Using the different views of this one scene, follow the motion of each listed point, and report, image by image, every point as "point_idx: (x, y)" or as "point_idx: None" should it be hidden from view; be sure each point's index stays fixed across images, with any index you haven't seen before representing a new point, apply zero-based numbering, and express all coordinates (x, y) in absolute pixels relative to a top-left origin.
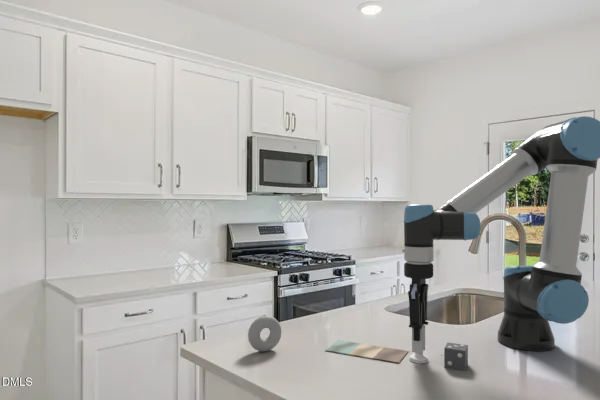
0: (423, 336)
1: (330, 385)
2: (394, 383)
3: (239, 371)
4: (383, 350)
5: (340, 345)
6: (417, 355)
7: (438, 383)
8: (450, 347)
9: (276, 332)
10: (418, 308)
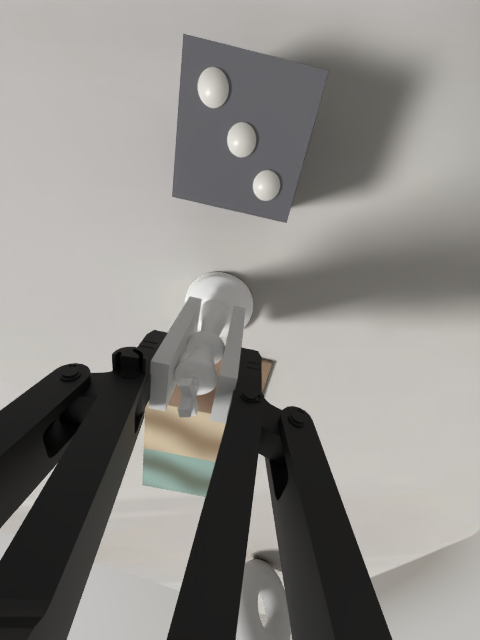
0: (185, 333)
1: (443, 479)
2: (440, 370)
3: (368, 572)
4: (177, 401)
5: (181, 480)
6: (229, 318)
7: (452, 241)
8: (279, 183)
9: (256, 604)
10: (382, 615)
